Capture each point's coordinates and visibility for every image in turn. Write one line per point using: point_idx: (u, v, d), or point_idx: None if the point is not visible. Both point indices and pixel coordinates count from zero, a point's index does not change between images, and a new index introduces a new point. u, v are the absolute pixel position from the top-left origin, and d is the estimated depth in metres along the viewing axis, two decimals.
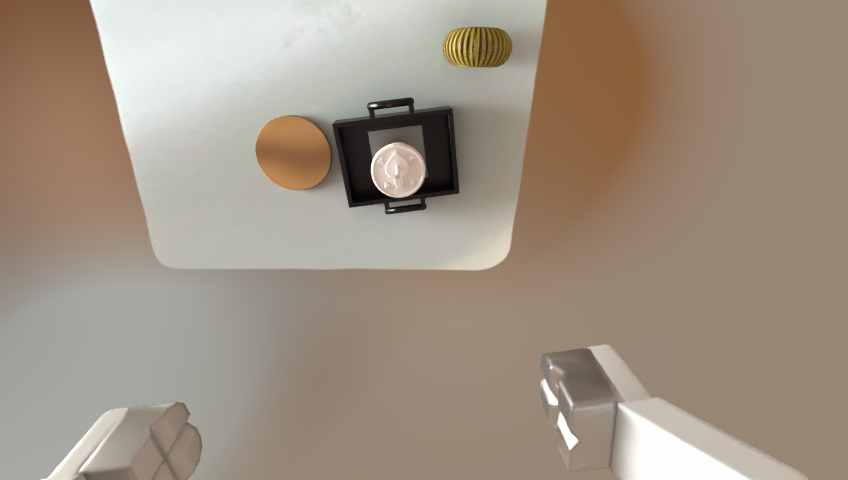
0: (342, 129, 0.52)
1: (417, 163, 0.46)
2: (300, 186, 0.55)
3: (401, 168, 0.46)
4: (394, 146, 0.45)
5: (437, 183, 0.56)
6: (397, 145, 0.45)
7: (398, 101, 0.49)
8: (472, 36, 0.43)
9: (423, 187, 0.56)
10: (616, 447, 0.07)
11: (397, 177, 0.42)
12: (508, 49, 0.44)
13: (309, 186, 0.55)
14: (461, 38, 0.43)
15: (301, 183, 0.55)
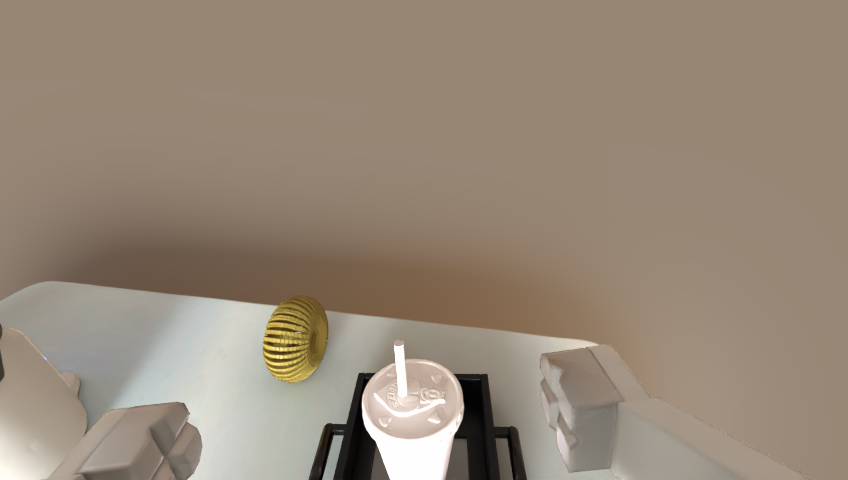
0: None
1: None
2: None
3: None
4: (365, 395, 0.25)
5: (476, 422, 0.33)
6: (365, 390, 0.25)
7: (321, 443, 0.29)
8: (274, 317, 0.35)
9: (483, 445, 0.31)
10: (616, 447, 0.07)
11: (399, 343, 0.22)
12: (308, 297, 0.39)
13: None
14: (270, 330, 0.34)
15: None
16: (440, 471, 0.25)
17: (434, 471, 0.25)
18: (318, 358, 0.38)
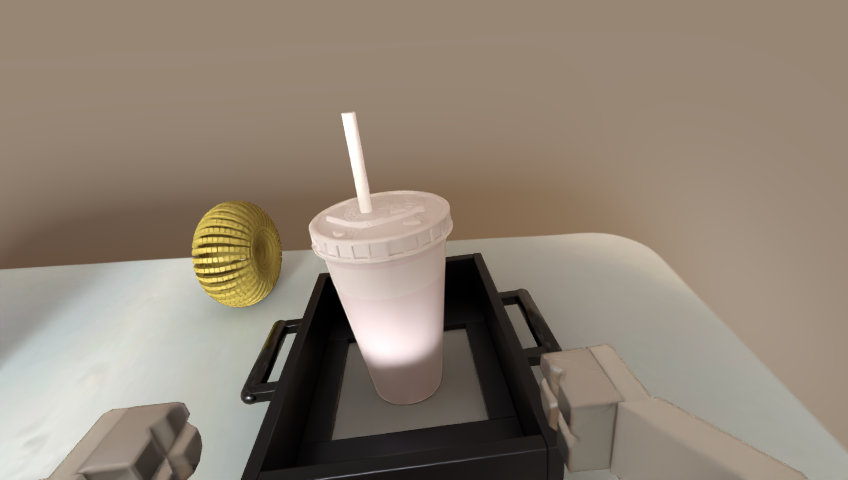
0: None
1: None
2: None
3: None
4: (313, 220, 0.18)
5: (474, 310, 0.26)
6: None
7: (268, 338, 0.21)
8: None
9: (487, 328, 0.24)
10: (616, 447, 0.07)
11: (349, 112, 0.16)
12: None
13: None
14: (200, 231, 0.27)
15: None
16: (432, 323, 0.18)
17: (423, 318, 0.18)
18: (269, 276, 0.30)
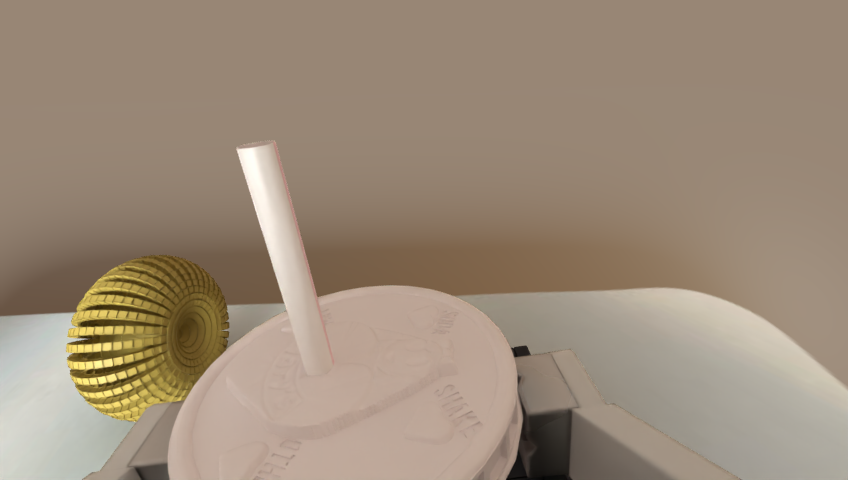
0: None
1: (333, 308, 0.10)
2: None
3: (331, 350, 0.08)
4: (196, 388, 0.08)
5: None
6: (202, 377, 0.08)
7: None
8: None
9: None
10: (573, 453, 0.07)
11: (260, 144, 0.06)
12: None
13: None
14: None
15: None
16: None
17: None
18: (203, 368, 0.20)
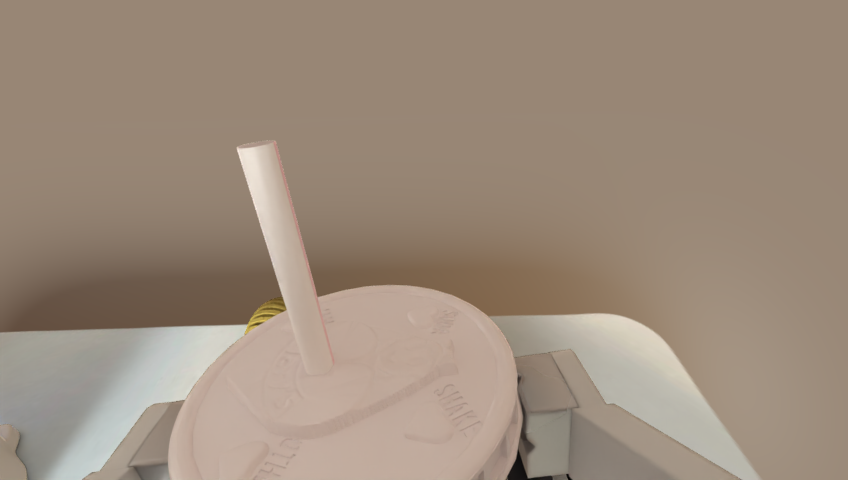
0: None
1: (333, 308, 0.10)
2: None
3: (331, 349, 0.08)
4: (197, 388, 0.08)
5: None
6: (202, 376, 0.08)
7: None
8: (252, 321, 0.30)
9: None
10: (573, 452, 0.07)
11: (260, 144, 0.06)
12: None
13: None
14: None
15: None
16: None
17: None
18: None
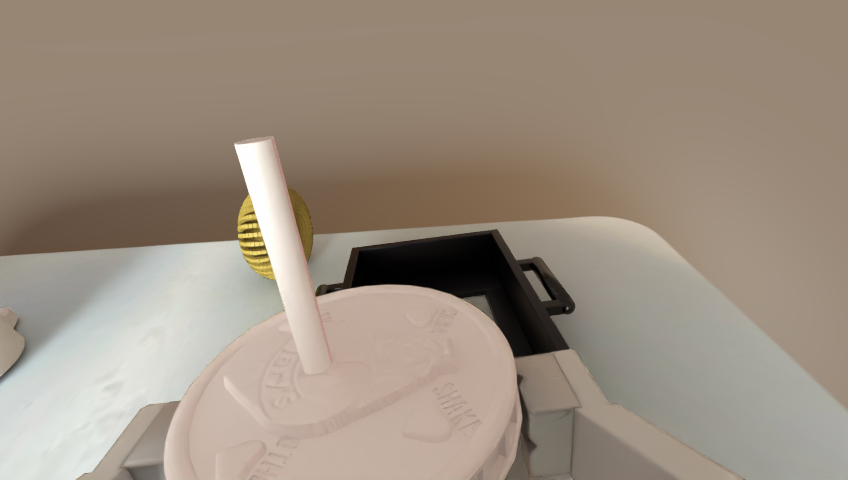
0: None
1: (331, 308, 0.10)
2: None
3: (329, 348, 0.08)
4: (193, 387, 0.08)
5: (492, 279, 0.29)
6: (199, 376, 0.08)
7: None
8: (248, 198, 0.31)
9: (505, 293, 0.27)
10: (575, 452, 0.07)
11: (257, 140, 0.06)
12: None
13: None
14: (245, 209, 0.30)
15: None
16: None
17: None
18: (304, 252, 0.33)
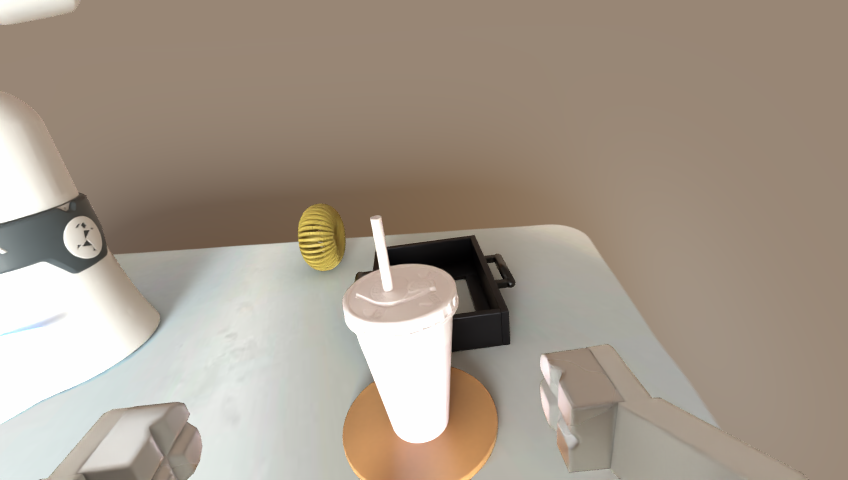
0: None
1: None
2: (488, 409, 0.26)
3: None
4: (345, 297, 0.22)
5: (471, 269, 0.43)
6: (345, 294, 0.22)
7: (356, 279, 0.38)
8: (304, 214, 0.45)
9: (478, 277, 0.41)
10: (616, 447, 0.07)
11: (376, 217, 0.20)
12: None
13: (486, 394, 0.27)
14: (303, 222, 0.44)
15: (482, 407, 0.26)
16: (441, 379, 0.22)
17: (434, 376, 0.22)
18: (341, 251, 0.47)
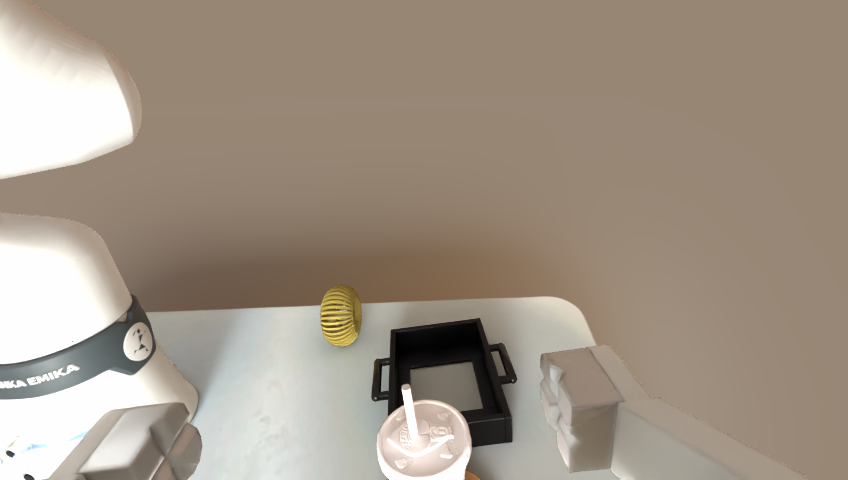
0: None
1: None
2: None
3: None
4: (378, 441, 0.26)
5: (476, 351, 0.48)
6: (378, 437, 0.27)
7: (375, 369, 0.43)
8: (326, 298, 0.49)
9: (483, 362, 0.46)
10: (616, 447, 0.07)
11: (406, 387, 0.25)
12: None
13: None
14: (326, 306, 0.49)
15: None
16: None
17: None
18: (358, 328, 0.52)
